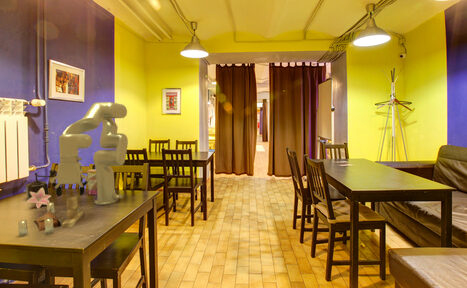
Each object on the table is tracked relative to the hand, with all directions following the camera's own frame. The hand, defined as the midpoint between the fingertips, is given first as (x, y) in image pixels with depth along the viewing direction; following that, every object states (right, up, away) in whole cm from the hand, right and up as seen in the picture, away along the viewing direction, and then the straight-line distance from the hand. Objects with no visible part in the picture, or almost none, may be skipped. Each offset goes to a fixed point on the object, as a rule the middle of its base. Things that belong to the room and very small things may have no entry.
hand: (70, 195), depth 128 cm
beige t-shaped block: (0, -13, +2) cm, 13 cm away
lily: (-33, -12, +25) cm, 43 cm away
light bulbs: (-10, -13, 0) cm, 16 cm away
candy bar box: (-12, -9, +50) cm, 52 cm away
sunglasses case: (-11, -14, -1) cm, 18 cm away
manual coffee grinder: (-45, -10, +43) cm, 63 cm away
